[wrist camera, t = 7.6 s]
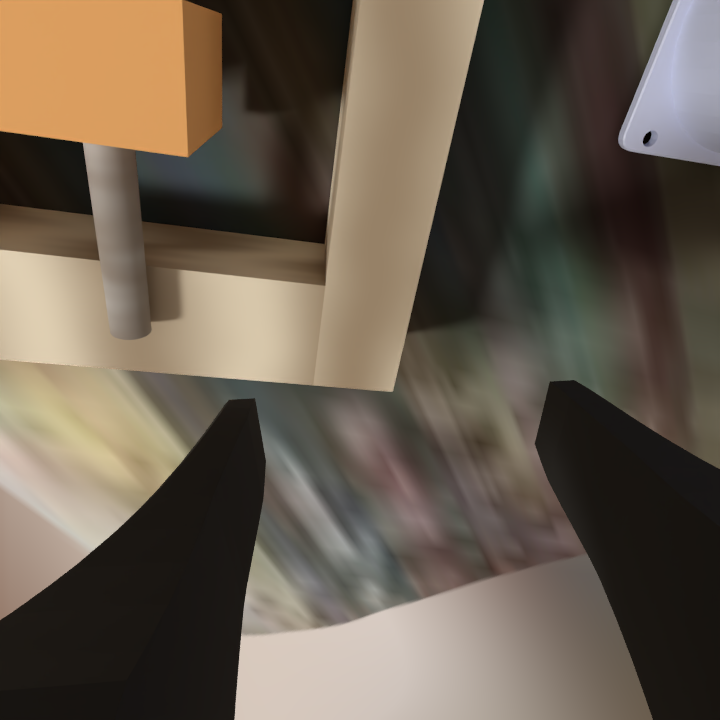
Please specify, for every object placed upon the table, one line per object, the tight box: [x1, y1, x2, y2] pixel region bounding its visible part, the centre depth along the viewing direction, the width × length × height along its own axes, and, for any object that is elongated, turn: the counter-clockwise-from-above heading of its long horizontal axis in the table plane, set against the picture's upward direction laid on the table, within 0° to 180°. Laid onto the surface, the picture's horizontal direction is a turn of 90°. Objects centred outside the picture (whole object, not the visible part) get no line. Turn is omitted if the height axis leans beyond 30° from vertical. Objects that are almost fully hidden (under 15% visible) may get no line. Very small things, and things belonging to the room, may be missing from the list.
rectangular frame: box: [0, 0, 484, 392], centre depth 13 cm, size 18×18×5 cm
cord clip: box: [0, 0, 222, 157], centre depth 12 cm, size 5×3×5 cm, turn 81°
